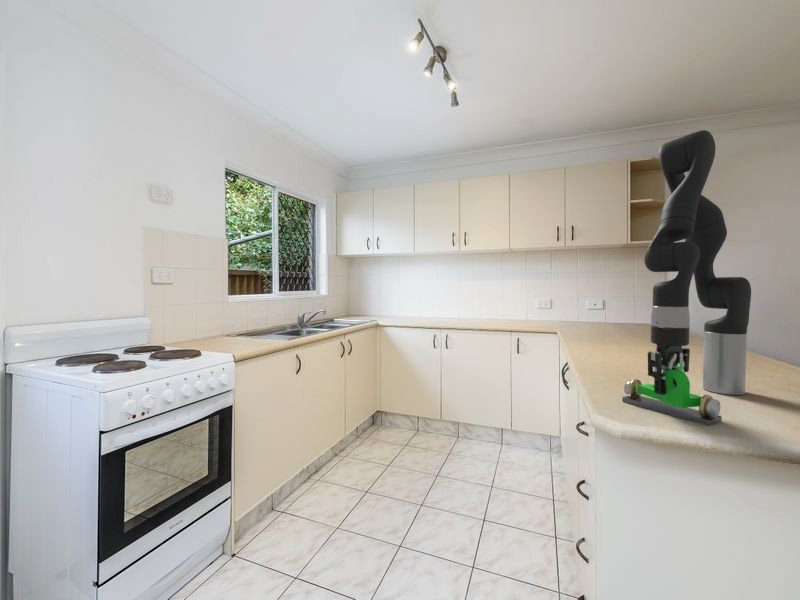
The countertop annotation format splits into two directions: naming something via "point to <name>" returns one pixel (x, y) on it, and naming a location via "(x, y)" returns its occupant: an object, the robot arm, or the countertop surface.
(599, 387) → the countertop surface
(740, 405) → the countertop surface
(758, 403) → the countertop surface
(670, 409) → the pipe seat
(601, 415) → the countertop surface
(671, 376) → the mechanical part
